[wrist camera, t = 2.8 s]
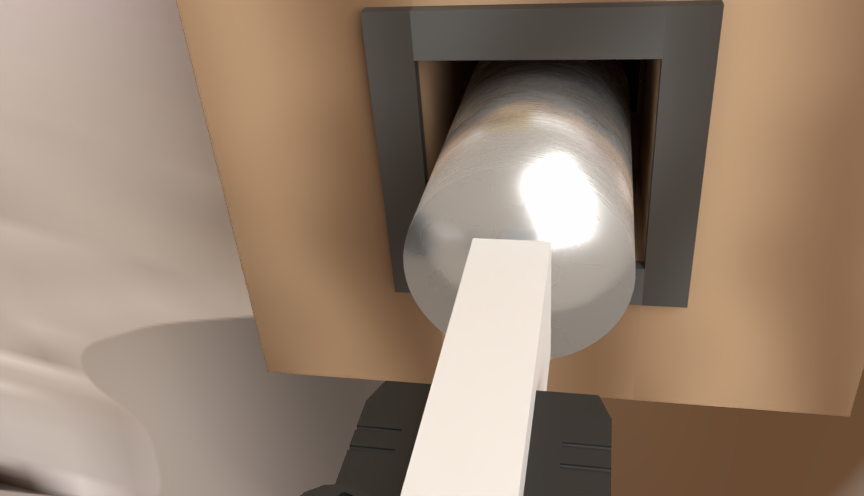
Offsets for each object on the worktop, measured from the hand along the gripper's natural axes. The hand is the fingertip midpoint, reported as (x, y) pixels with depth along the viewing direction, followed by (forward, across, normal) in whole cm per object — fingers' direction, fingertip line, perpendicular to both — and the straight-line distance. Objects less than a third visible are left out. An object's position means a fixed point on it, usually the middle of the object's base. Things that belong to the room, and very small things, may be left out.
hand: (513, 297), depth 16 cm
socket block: (+16, 0, 0) cm, 16 cm away
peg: (+11, 0, 0) cm, 11 cm away
